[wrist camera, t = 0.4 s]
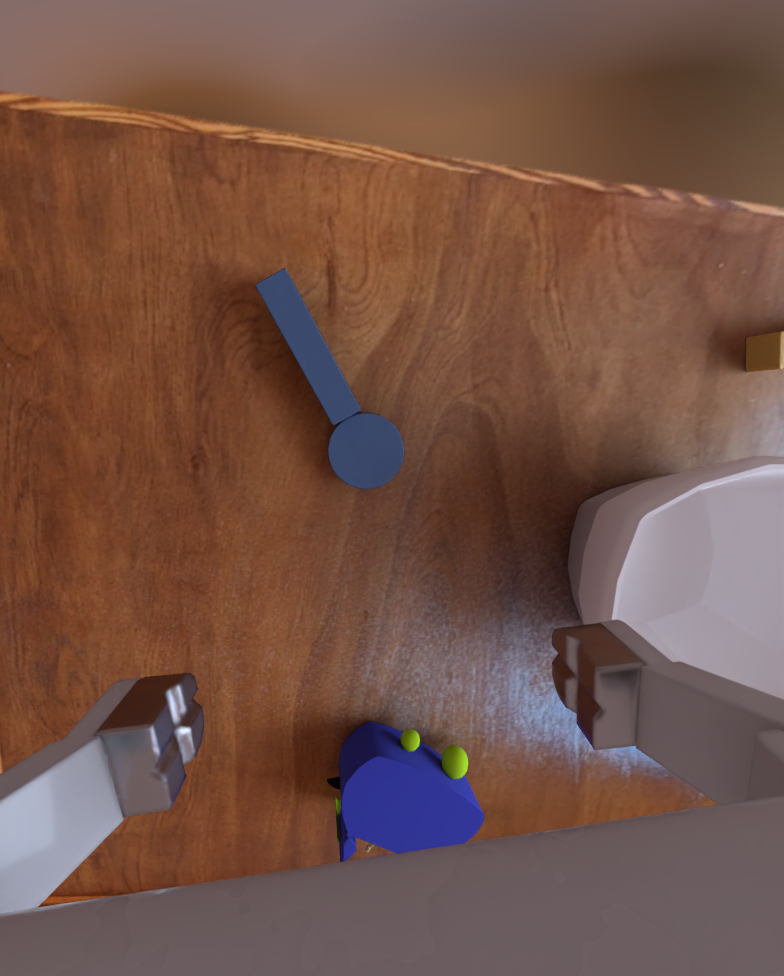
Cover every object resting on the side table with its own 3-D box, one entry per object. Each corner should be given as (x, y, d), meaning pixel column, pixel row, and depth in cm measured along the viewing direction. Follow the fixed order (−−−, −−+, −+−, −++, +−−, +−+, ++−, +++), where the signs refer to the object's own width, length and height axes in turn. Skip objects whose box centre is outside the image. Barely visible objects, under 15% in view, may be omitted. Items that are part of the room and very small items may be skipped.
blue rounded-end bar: (246, 309, 25) (231, 297, 22) (314, 272, 25) (308, 254, 22) (352, 495, 28) (350, 505, 25) (413, 463, 28) (419, 469, 25)
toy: (333, 700, 33) (316, 811, 33) (335, 746, 28) (315, 879, 28) (467, 706, 35) (451, 810, 35) (494, 750, 30) (475, 873, 30)
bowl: (755, 427, 30) (933, 435, 20) (741, 638, 33) (886, 726, 24) (524, 458, 29) (601, 481, 19) (536, 671, 32) (605, 776, 23)
